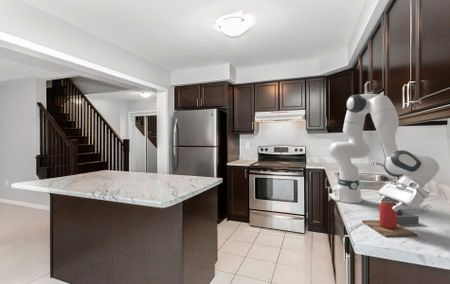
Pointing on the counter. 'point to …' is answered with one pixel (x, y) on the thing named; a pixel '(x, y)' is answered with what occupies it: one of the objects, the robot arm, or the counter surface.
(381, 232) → the walnut board
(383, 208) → the beer can
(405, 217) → the can collar
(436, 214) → the counter surface
